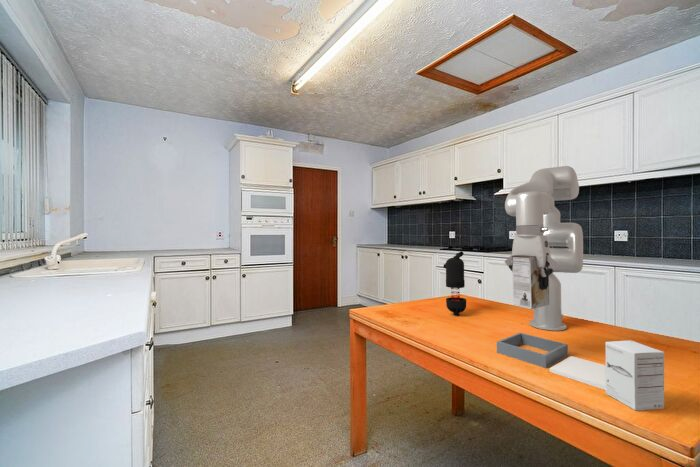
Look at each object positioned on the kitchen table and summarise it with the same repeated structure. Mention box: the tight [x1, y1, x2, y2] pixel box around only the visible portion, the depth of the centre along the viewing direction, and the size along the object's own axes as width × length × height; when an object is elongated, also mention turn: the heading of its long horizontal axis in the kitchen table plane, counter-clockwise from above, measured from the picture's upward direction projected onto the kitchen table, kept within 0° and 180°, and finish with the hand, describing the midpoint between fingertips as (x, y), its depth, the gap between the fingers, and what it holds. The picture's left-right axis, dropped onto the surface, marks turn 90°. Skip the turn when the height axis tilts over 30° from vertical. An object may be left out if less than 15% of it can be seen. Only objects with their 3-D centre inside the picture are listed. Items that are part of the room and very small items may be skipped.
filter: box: [443, 250, 467, 317], centre depth 147 cm, size 14×9×30 cm
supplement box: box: [605, 340, 665, 411], centre depth 72 cm, size 7×7×13 cm
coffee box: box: [511, 255, 549, 310], centre depth 100 cm, size 9×6×16 cm
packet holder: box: [496, 332, 569, 369], centre depth 99 cm, size 15×15×4 cm
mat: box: [549, 355, 606, 391], centre depth 85 cm, size 14×14×1 cm
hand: (530, 287), depth 100 cm, fingers closed on coffee box, 6 cm apart
